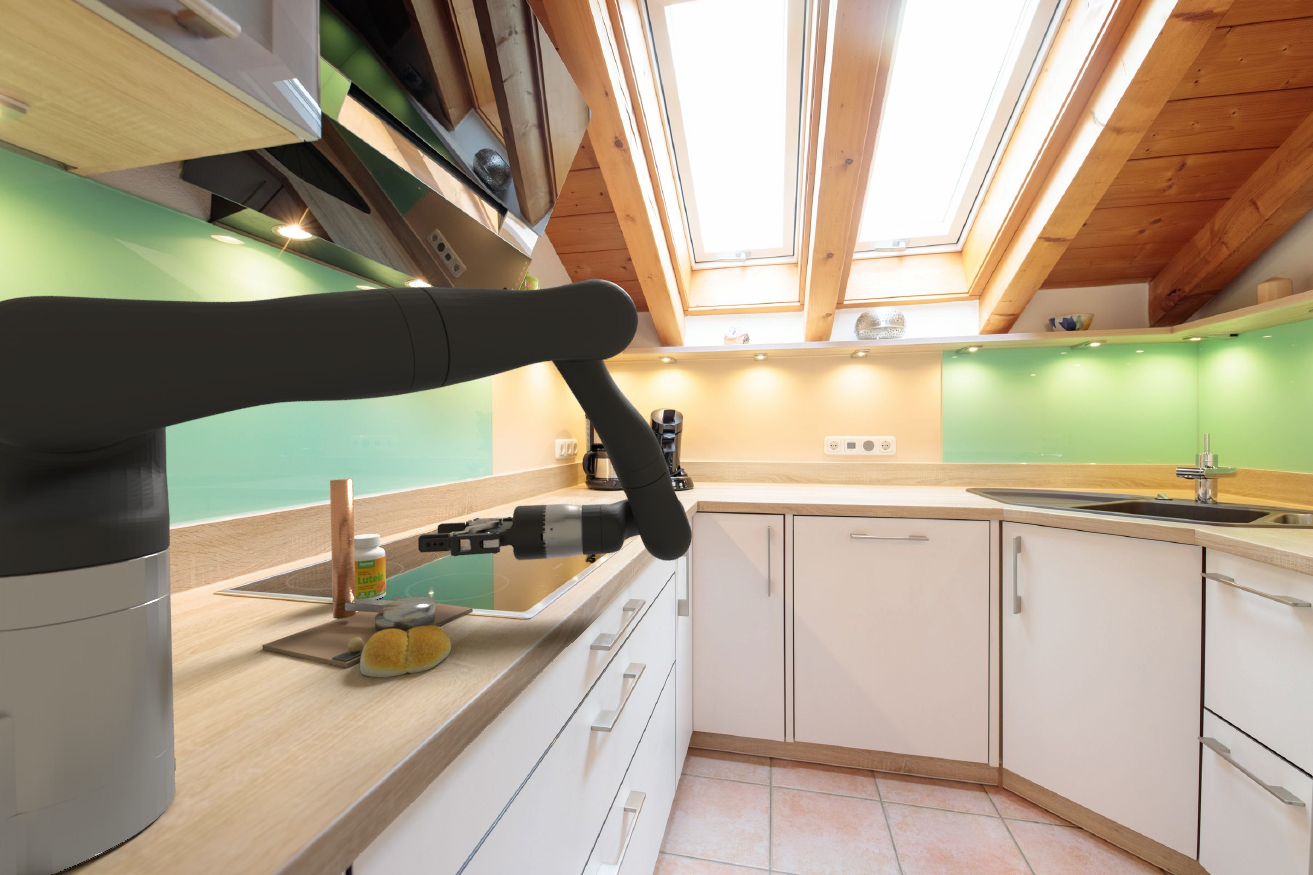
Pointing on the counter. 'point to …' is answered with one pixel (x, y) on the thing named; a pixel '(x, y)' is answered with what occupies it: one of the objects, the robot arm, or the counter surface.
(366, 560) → the supplement bottle
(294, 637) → the stand
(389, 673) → the bread roll
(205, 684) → the counter surface
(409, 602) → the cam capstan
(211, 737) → the counter surface
